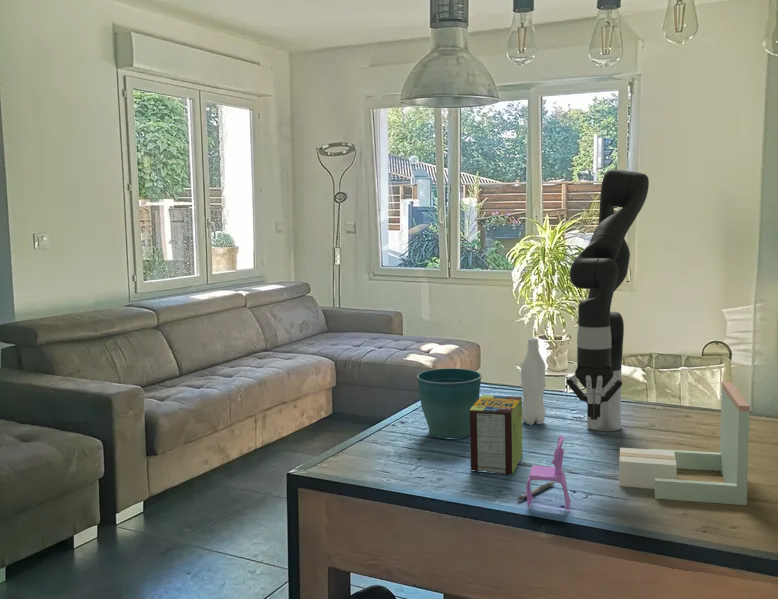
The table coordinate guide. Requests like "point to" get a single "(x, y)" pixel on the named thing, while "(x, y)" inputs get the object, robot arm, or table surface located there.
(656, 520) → the table surface
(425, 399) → the flower pot
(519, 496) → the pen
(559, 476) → the toy chair
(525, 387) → the water bottle
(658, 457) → the carton
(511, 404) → the protein box
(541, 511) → the table surface
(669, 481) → the display stand
